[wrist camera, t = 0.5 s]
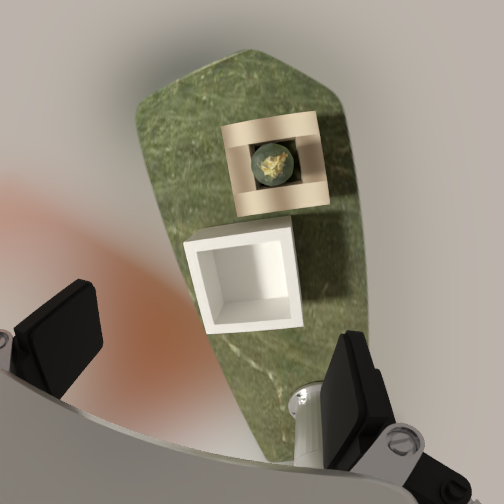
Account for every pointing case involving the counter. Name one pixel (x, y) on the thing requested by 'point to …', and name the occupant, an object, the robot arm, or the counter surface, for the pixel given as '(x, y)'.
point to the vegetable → (272, 164)
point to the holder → (286, 194)
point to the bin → (246, 276)
